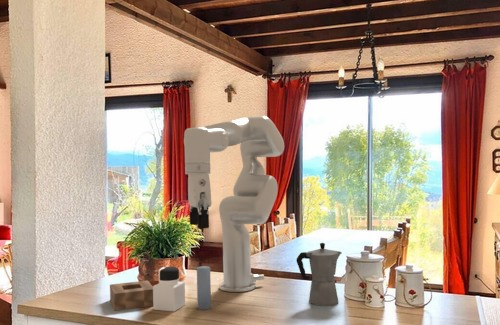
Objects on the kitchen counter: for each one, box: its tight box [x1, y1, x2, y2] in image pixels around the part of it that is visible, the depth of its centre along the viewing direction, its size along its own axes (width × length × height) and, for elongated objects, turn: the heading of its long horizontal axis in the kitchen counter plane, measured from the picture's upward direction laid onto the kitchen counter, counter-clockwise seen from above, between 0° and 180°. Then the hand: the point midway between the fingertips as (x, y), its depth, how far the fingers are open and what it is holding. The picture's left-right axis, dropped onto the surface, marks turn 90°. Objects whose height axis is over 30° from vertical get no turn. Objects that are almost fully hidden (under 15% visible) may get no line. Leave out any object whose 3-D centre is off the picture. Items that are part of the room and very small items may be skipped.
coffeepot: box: [295, 242, 342, 307], centre depth 146 cm, size 15×9×18 cm, turn 110°
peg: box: [196, 265, 212, 311], centre depth 143 cm, size 4×4×12 cm
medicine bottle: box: [152, 265, 186, 312], centre depth 144 cm, size 7×7×12 cm
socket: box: [109, 280, 154, 311], centre depth 149 cm, size 12×12×5 cm
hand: (199, 226), depth 143 cm, fingers open, 9 cm apart
